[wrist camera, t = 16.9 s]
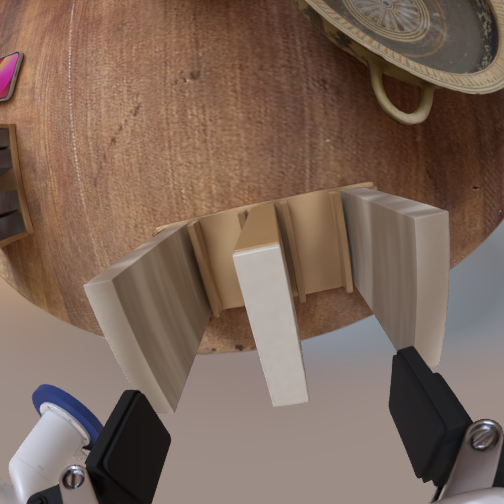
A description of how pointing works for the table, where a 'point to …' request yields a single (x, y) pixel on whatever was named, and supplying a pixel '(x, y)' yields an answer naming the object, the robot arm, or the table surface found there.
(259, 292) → the cream book
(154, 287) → the wooden slotted rack
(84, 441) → the robot arm
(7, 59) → the smartphone
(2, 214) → the wooden book rack
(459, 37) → the ceramic bowl
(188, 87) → the table surface
